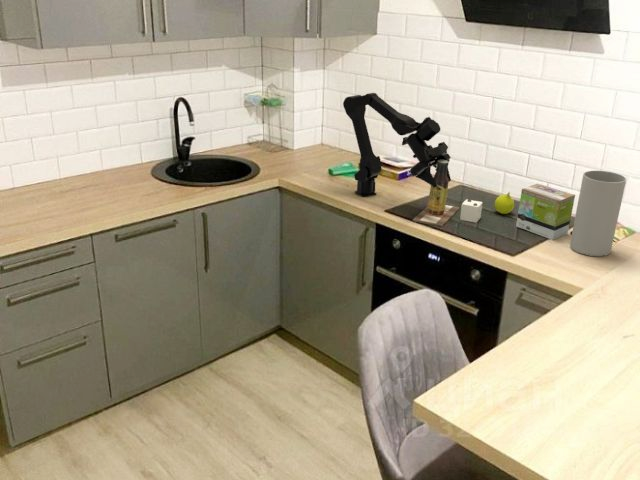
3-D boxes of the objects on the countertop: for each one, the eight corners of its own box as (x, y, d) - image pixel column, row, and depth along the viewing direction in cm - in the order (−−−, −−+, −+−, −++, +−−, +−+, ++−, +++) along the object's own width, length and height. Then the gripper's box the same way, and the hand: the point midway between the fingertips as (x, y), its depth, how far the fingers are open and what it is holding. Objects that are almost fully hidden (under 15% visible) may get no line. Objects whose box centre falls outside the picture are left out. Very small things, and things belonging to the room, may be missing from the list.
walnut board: (431, 203, 247) (431, 202, 247) (459, 209, 242) (459, 207, 242) (412, 221, 230) (412, 219, 230) (442, 226, 225) (442, 224, 225)
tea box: (514, 227, 226) (520, 187, 220) (530, 221, 232) (537, 182, 226) (552, 241, 216) (560, 199, 210) (568, 234, 222) (576, 193, 216)
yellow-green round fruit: (508, 218, 235) (512, 192, 231) (490, 213, 239) (493, 188, 235) (515, 212, 240) (519, 187, 236) (498, 208, 244) (501, 183, 240)
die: (464, 214, 237) (466, 197, 234) (480, 217, 235) (482, 200, 232) (460, 219, 232) (462, 202, 230) (476, 222, 230) (478, 205, 227)
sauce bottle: (423, 211, 237) (429, 159, 229) (436, 208, 240) (441, 157, 232) (436, 217, 232) (442, 164, 224) (448, 213, 235) (454, 161, 227)
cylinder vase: (574, 255, 205) (588, 181, 195) (565, 240, 216) (579, 169, 206) (615, 258, 203) (631, 183, 193) (604, 243, 215) (619, 171, 205)
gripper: (420, 140, 221) (444, 177, 218) (448, 131, 233) (472, 166, 231) (399, 157, 229) (423, 194, 226) (428, 148, 241) (450, 182, 239)
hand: (443, 183), depth 230 cm, fingers open, 9 cm apart
